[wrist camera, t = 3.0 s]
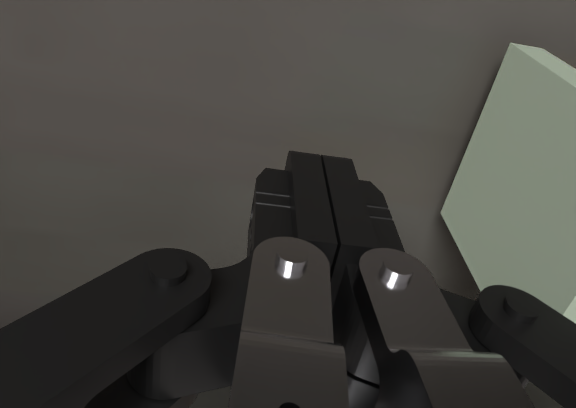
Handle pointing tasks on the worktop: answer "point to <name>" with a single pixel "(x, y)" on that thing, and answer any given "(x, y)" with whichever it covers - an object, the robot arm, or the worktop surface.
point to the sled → (522, 182)
